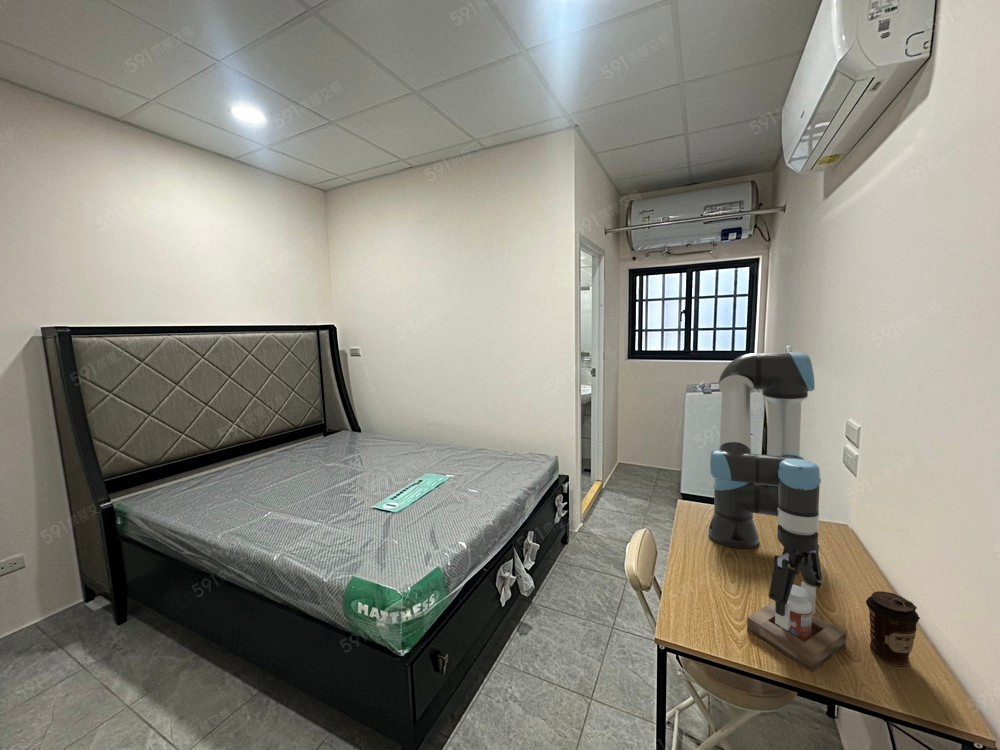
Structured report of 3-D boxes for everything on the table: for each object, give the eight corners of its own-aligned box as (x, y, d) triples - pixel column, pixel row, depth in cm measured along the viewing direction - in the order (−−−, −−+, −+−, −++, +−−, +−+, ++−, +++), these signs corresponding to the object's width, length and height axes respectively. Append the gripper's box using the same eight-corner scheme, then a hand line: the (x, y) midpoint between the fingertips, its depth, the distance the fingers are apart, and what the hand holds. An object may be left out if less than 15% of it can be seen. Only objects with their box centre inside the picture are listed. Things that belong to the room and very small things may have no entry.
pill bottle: (772, 626, 99) (773, 584, 97) (794, 622, 100) (795, 580, 98) (795, 646, 92) (796, 600, 91) (818, 641, 93) (819, 596, 92)
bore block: (780, 610, 105) (781, 597, 105) (845, 646, 93) (846, 632, 92) (747, 630, 99) (747, 617, 99) (811, 671, 87) (812, 656, 86)
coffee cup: (928, 665, 87) (931, 609, 85) (901, 676, 84) (904, 618, 83) (880, 637, 95) (882, 585, 94) (854, 646, 93) (857, 593, 91)
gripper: (806, 509, 101) (804, 593, 104) (750, 533, 92) (749, 625, 94) (842, 521, 95) (839, 610, 97) (786, 549, 85) (784, 647, 87)
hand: (795, 617), depth 95 cm, fingers open, 10 cm apart
